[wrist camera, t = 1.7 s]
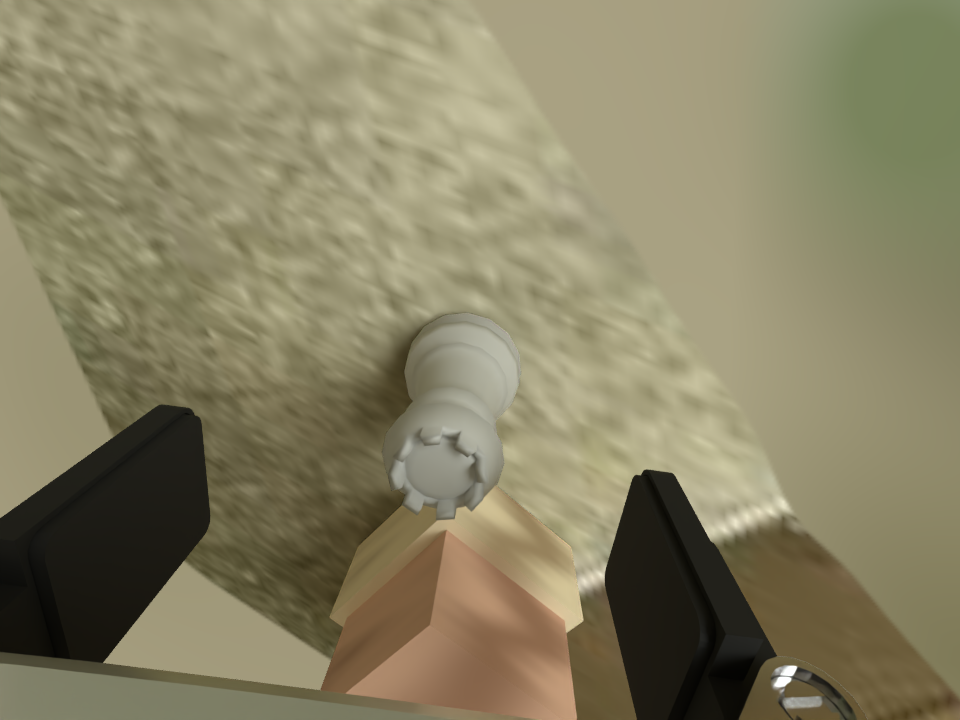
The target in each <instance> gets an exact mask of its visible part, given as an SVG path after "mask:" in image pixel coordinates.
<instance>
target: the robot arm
mask: <svg viewBox="0 0 960 720" xmlns="http://www.w3.org/2000/svg"><path fill="white" fill-rule="evenodd" d="M209 523H210V508H209V497H208V487H207V476H206V466H205V455H204V445H203V434H202V423H201V420H200V418H199V417H198V416H195V415H194V412H193V411H192V410H191V409H190V408H185V407H177V406H170V405H159V406H157V407H155V408H154V409H152V410H151V411H150V412H148V413H147V414H145V415H144V416H143V417H141V418H140V419H138V420H137V421H136V422H134V423H133V424H131V425H130V426H129V427H127V428H126V429H124V430H123V431H122V432H120V433H119V434H117V435H116V436H115V437H113V438H112V439H110V440H109V441H108V442H106V443H105V444H103V445H102V446H101V447H99V448H98V449H96V450H95V451H94V452H92V453H91V454H90V455H88V456H87V457H85V458H84V459H83V460H81V461H80V462H78V463H77V464H76V465H74V466H73V467H71V468H70V469H69V470H67V471H66V472H65V473H63V474H62V475H60V476H59V477H57V478H56V479H55V480H53V481H52V482H50V483H49V484H48V485H46V486H45V487H43V488H42V489H41V490H39V491H38V492H36V493H35V494H34V495H32V496H31V497H29V498H28V499H27V500H25V501H24V502H22V503H21V504H20V505H18V506H17V507H15V508H14V509H13V510H11V511H10V512H8V513H7V514H6V515H4V516H3V517H1V518H0V720H539V719H531V718H524V717H517V716H509V715H502V714H494V713H487V712H480V711H472V710H465V709H458V708H450V707H443V706H435V705H428V704H421V703H413V702H406V701H398V700H390V699H383V698H375V697H367V696H360V695H352V694H344V693H337V692H329V691H321V690H313V689H305V688H298V687H290V686H282V685H274V684H266V683H258V682H251V681H243V680H236V679H227V678H219V677H210V676H202V675H195V674H187V673H178V672H170V671H163V670H154V669H145V668H138V667H130V666H121V665H113V664H106V663H103V662H104V661H105V659H106V658H107V657H108V656H109V654H110V653H111V652H112V651H113V649H114V648H115V647H116V646H117V644H118V643H119V641H121V639H122V638H123V637H124V635H125V634H126V633H127V632H128V631H129V629H130V628H131V627H132V625H133V624H134V623H135V622H136V620H137V619H138V618H139V617H140V615H141V614H142V613H143V612H144V610H145V609H146V608H147V606H148V605H149V604H150V602H152V600H153V599H154V598H155V596H156V595H157V594H158V593H159V591H160V590H161V589H162V588H163V586H164V585H165V584H166V583H167V581H168V580H169V579H170V577H171V576H172V575H173V574H174V572H175V571H176V570H177V569H178V567H179V566H180V565H181V564H182V562H183V561H184V560H185V559H186V557H187V556H188V555H189V554H190V552H191V551H192V550H193V549H194V547H195V546H196V545H197V544H198V542H199V541H200V540H201V539H202V537H203V536H204V535H205V533H206V531H207V529H208V526H209ZM605 587H606V592H607V596H608V600H609V604H610V608H611V613H612V617H613V621H614V625H615V629H616V633H617V638H618V642H619V646H620V650H621V654H622V658H623V663H624V667H625V671H626V675H627V679H628V683H629V688H630V692H631V696H632V700H633V704H634V708H635V713H636V717H637V720H867V718H866V715H865V713H864V711H863V710H862V709H861V707H860V706H859V705H858V703H857V702H856V700H855V699H854V698H853V696H852V695H851V694H850V693H849V692H848V691H847V690H846V689H845V688H844V687H843V686H841V685H840V684H839V683H838V682H837V681H836V680H834V679H833V678H832V677H830V676H829V675H828V674H826V673H825V672H824V671H822V670H820V669H818V668H816V667H815V666H813V665H811V664H809V663H807V662H804V661H801V660H798V659H795V658H792V657H779V656H777V655H776V653H775V652H774V650H773V648H772V646H771V644H770V642H769V641H768V639H767V637H766V635H765V633H764V632H763V630H762V628H761V626H760V624H759V623H758V621H757V619H756V617H755V615H754V613H753V612H752V610H751V608H750V606H749V604H748V603H747V601H746V599H745V597H744V595H743V594H742V592H741V590H740V588H739V586H738V584H737V583H736V581H735V579H734V577H733V575H732V574H731V572H730V570H729V568H728V566H727V565H726V563H725V561H724V559H723V557H722V555H721V554H720V552H719V550H718V549H717V547H716V546H715V544H714V543H712V542H711V541H710V539H709V538H708V536H707V534H706V532H705V530H704V528H703V527H702V525H701V523H700V521H699V519H698V517H697V515H696V514H695V512H694V510H693V508H692V506H691V504H690V503H689V501H688V499H687V497H686V495H685V493H684V492H683V490H682V488H681V486H680V484H679V482H678V481H677V479H676V477H675V475H674V474H673V473H669V472H661V471H654V470H644V471H643V473H642V474H641V476H640V475H635V476H634V477H633V479H632V482H631V485H630V489H629V492H628V496H627V499H626V502H625V506H624V509H623V513H622V516H621V519H620V523H619V526H618V530H617V533H616V536H615V540H614V543H613V547H612V550H611V553H610V557H609V560H608V564H607V567H606V571H605Z"/></svg>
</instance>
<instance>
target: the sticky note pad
mask: <svg viewBox="0 0 960 720" xmlns="http://www.w3.org/2000/svg"><path fill="white" fill-rule="evenodd" d="M436 511H437V509H436V508H432V507H428V506H424V505H422V508H421V510H420V512H419V514H418V515H416V514H414V513H413V512H411V511H410V510H408V509H407V508H405V507H404V506H402V505H401V506H400V507H399V508H398V509H397V510H396V511H395V512H394V513H393V514H392V515H391V516H390V517H389V518H388V519H387V520H385V521H384V522H383V523H382V524H381V525H380V526H379V527H378V528H377V529H376V530H375V531H374V532H373V533H372V534H371V535H370V536H369V537H367V538H366V539H365V540H364V541H363V542H362V543H361V544H360V545H359V546H358V548H357V550H356V553H355V555H354V558H353V560H352V562H351V565H350V567H349V570H348V572H347V575H346V577H345V580H344V582H343V585H342V587H341V590H340V592H339V595H338V597H337V600H336V602H335V604H334V607H333V609H332V612H331V614H330V617H329V618H330V619H332V620H333V621H335V622H336V623H338V624H339V625H341V626H342V627H343V630H342V632H341V635H340V638H339V641H338V643H337V646H336V649H335V651H334V654H333V657H332V660H331V662H330V665H329V668H328V671H327V673H326V676H325V679H324V682H323V684H322V687H321V691H329V692H337V693H344V694H352V695H360V696H367V697H375V698H383V699H390V700H398V701H406V702H413V703H421V704H428V705H435V706H443V707H450V708H458V709H465V710H472V711H480V712H487V713H494V714H502V715H509V716H517V717H524V718H531V719H539V720H577V716H576V707H575V699H574V691H573V683H572V675H571V667H570V659H569V651H568V643H567V635H566V633H567V632H569V631H570V630H571V629H573V628H574V627H576V626H577V625H578V624H580V623H581V622H583V615H582V609H581V603H580V597H579V591H578V585H577V579H576V573H575V567H574V561H573V555H572V549H571V546H569V545H568V544H567V543H566V542H564V541H563V540H562V539H561V538H560V537H558V536H557V535H556V534H555V533H553V532H552V531H551V530H550V529H549V528H547V527H546V526H545V525H544V524H542V523H541V522H540V521H539V520H537V519H536V518H535V517H534V516H533V515H531V514H530V513H529V512H528V511H526V510H525V509H524V508H523V507H522V506H520V505H519V504H518V503H517V502H515V501H514V500H513V499H512V498H510V497H509V496H508V495H507V494H506V493H504V492H503V491H502V490H501V489H499V488H498V487H497V486H496V485H495V486H494V488H493V489H492V490H491V491H490V492H489V493H488V494H487V495H486V496H485V497H484V498H483V500H482V501H481V502H480V503H479V505H478V506H477V507H476V508H475V509H474V510H473V511H472V512H471V511H470V510H469V509H468V508H467V507H466V506H465V507H461V508H456V515H455V519H450V520H436Z"/></svg>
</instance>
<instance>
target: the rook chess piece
mask: <svg viewBox="0 0 960 720" xmlns="http://www.w3.org/2000/svg"><path fill="white" fill-rule="evenodd" d="M404 373H405V379H406V384H407V389H408V394H409V397H410V398H411V400H412V401H413V402H412V403H411V404H410V405H409V407H408V408H407V409H406V410H405V413H404V414H402V415H400V416H399V417H398V419H397V420H396V421H395V422H394V424H393V425H392V426H391V427H390V428H389V430H388V431H387V433H386V437H385V441H384V445H383V449H382V455H383V460H384V464H385V469H386V473H387V474H388V478H389V483H390V487H391V491H392V490H396V489H398V490H399V491H401V492H402V493H404V494H405V497H404V500H403V503H402V506H404V507H405V508H407V509H408V510H410V511H411V512H413V513H414V514H416V515H418V514H419V512H420V510H421V508H422V505H424V506H428V507H432V508H436V509H437V511H436V520H450V519H455V515H456V508H461V507H465V506H466V507H467V508H468V509H469V510H470V511H471V512H472V511H473V510H474V509H475V508H476V507H477V506H478V505H479V503H480V502H481V501H482V500H483V498H484V497H485V496H486V495H487V494H488V493H489V492H490V491H491V490H492V489H493V488H494V486H495V485H496V484H497V483H498V481H499V478H500V475H501V472H502V469H503V466H504V457H503V449H502V442H501V441H500V439H499V437H498V436H497V430H496V422H495V421H496V420H497V419H498V418H499V417H500V416H501V415H502V414H503V413H504V412H505V410H506V409H507V408H508V407H509V406H510V405H511V404H512V402H513V400H514V397H515V394H516V391H517V388H518V385H519V382H520V381H519V378H520V375H521V368H520V359H519V352H518V350H517V348H516V346H515V345H514V343H513V341H512V339H511V337H510V336H509V334H508V333H507V332H506V331H505V330H503V329H502V328H501V327H500V326H498V325H497V324H496V323H494V322H493V321H492V320H490V319H488V318H484V317H481V316H477V315H474V314H470V313H460V314H451V315H444V316H442V317H440V318H438V319H436V320H435V321H433V322H431V323H429V324H427V325H425V326H424V328H423V329H422V330H421V331H420V333H419V334H418V335H417V337H416V338H415V339H414V340H413V342H412V344H411V348H410V351H409V354H408V358H407V362H406V366H405V370H404Z"/></svg>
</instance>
